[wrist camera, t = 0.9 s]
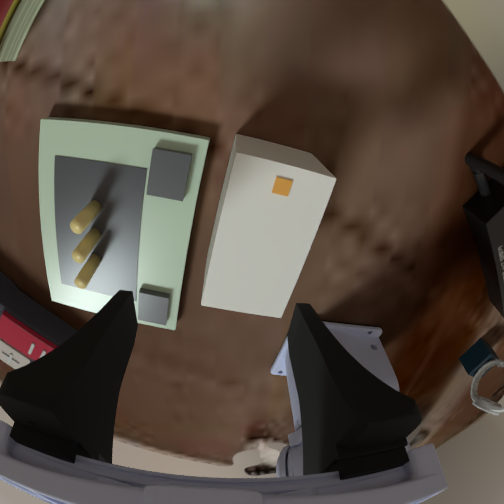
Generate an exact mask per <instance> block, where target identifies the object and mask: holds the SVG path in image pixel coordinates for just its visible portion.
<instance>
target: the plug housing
mask: <svg viewBox="0 0 504 504" xmlns="http://www.w3.org/2000/svg"><path fill="white" fill-rule="evenodd" d="M335 182H336V178H335V177H334V176H333V175H332V173H331V172H330V171H329V170H328V169H327V168H326V167H325V166H324V165H323V164H322V163H321V162H320V161H319V160H318V159H317V158H316V157H315V156H313V155H312V154H311V153H309V152H305V151H302V150H298V149H295V148H291V147H288V146H284V145H280V144H277V143H273V142H269V141H265V140H261V139H257V138H253V137H248V136H244V135H240V134H236V136H235V139H234V143H233V147H232V151H231V155H230V159H229V163H228V167H227V171H226V176H225V180H224V184H223V188H222V192H221V197H220V201H219V205H218V209H217V214H216V218H215V223H214V227H213V232H212V236H211V241H210V245H209V250H208V255H207V261H206V269H205V277H204V285H203V293H202V301H201V305H203V306H208V307H214V308H220V309H226V310H232V311H238V312H244V313H251V314H257V315H264V316H270V317H277V318H281V317H282V315H283V312H284V310H285V308H286V305H287V303H288V301H289V298H290V296H291V294H292V291H293V289H294V286H295V284H296V282H297V279H298V277H299V274H300V272H301V270H302V267H303V265H304V262H305V260H306V257H307V255H308V252H309V250H310V247H311V245H312V242H313V240H314V237H315V235H316V232H317V230H318V227H319V224H320V222H321V219H322V217H323V214H324V211H325V209H326V206H327V204H328V201H329V198H330V196H331V193H332V190H333V187H334V185H335Z"/></svg>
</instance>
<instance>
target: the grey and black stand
mask: <svg viewBox="0 0 504 504" xmlns="http://www.w3.org/2000/svg"><path fill="white" fill-rule="evenodd" d="M465 162H466V164H468V165H469V166H470V168H471V170H472V173H473V175H474V178H475V181H476V184H477V187H478V190H479V193H476V194H475V195H474V196H473V197H472V198H471V199H470V200H469V201H468V203H465V204H464V205H463V209H464V211H465V214H466V217H467V220H468V222H469V225H470V228H471V231H472V234H473V238H474V241H475V244H476V247H477V251H478V254H479V258H480V261H481V265H482V269H483V273H484V276H485V281H486V285H487V289H488V294H489V298H490V301H491V302H492V304H493V305H494V306H495V307H496V309H497V310H498V311H499V312H500V314H501V315H502V316H503V318H504V167H503V168H501V167H499V166H497V165H496V164H494V163H492V162H490V161H488V160H486V159H484V158H482V157H480V156H478V155H475V154H473V153H471V152H469V153H467V154H466V156H465ZM485 174H486V175H487V176H489V177H491V178H492V179H491V180H490V181H489V182H488V181H487V178H486V175H485Z"/></svg>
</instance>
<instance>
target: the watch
mask: <svg viewBox="0 0 504 504" xmlns="http://www.w3.org/2000/svg"><path fill="white" fill-rule="evenodd" d="M459 359H460V361H461V363H462V365H463V366H464V368H465V370H466V372H467V373H468V375H470V376H473V377H474V378H473V381H472V385H471V398H472V400H473V401H474V402H473V403H472V404H473V405H474V406H476V407H477V408H479V409H481V410H483V411H485V412H488V413H490V414H493V415H499V412H504V407H503V408H502V407H501V405H500V404H498V403H496V402H494V401H492V400H489V399H487V398H485V397H482V396H477V388H478V387H477V386H478V383H479V380H480V379H481V378H482V377H483V376H484V375H485V374H486V373H487V372H488V371H489V370H490V369H491V368H492V367H494V366H495V365H497V366H498V367H504V361H503V360H499V358H498V357H497V355H496V353H495V352H494V350H493V349H492V347H491V346H490V345H489V344H487V343H486V342H485V341H484V340H482V339H481V338H480V339H479V340H478V341H477V342H476V343H475V344H474V345H473V346H472V347H471V348H470V349H469V350H468V351H467V352H466V353H464V354H463V355H462V356H461V357H460V358H459Z"/></svg>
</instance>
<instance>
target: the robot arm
mask: <svg viewBox="0 0 504 504" xmlns="http://www.w3.org/2000/svg"><path fill="white" fill-rule="evenodd" d="M137 327H138V322H137V316H136V310H135V304H134V297H133V291H126V290H119V291H118V292H117V293H116V294H115V295H114V296H113V297H112V298H111V299H110V300H109V301H108V302H107V303H106V304H105V305H104V306H103V308H102V309H101V310H100V311H99V312H98V313H97V314H96V315H95V316H94V317H93V318H92V319H91V320H90V321H88V322H87V323H86V324H85V325H84V326H83V327H82V328H81V329H80V330H79V331H77V332H76V333H75V334H74V335H73V336H72V337H70V338H69V339H68V340H66V341H65V342H64V343H62V344H61V345H60V346H58V347H57V348H55V349H53V350H52V351H50V352H49V353H47V354H46V355H44V356H42V357H41V358H39V359H37V360H35V361H33V362H31V363H29V364H27V365H25V366H23V367H20V368H18V369H16V370H13V371H11V372H8V373H7V375H6V377H5V379H4V381H3V383H2V385H1V387H0V406H1V407H2V408H3V409H4V411H5V412H6V413H7V414H8V415H9V416H10V417H11V418H12V419H13V421H14V425H13V427H11V426H10V425H8V424H7V423H5V422H3V421H0V479H1V480H2V481H4V482H6V483H8V484H10V485H12V486H13V487H16V488H17V489H20V490H22V491H24V492H26V493H28V494H30V495H32V496H35V497H37V498H39V499H41V500H43V501H46V502H48V503H50V504H419V503H421V502H423V501H424V500H427V499H429V498H431V497H432V496H434V495H436V494H438V493H440V492H442V491H443V490H445V489H447V488H448V485H447V482H446V479H445V476H444V473H443V470H442V467H441V464H440V461H439V458H438V455H437V453H436V450H435V447H434V444H432V443H431V444H428V445H424V446H421V447H418V448H415V449H412V450H411V448H410V445H409V442H408V439H407V436H408V435H409V434H410V433H411V432H412V431H414V429H416V427H417V426H418V425H419V424H420V422H421V420H422V416H421V414H420V411H419V409H418V406H417V404H416V402H415V400H414V399H412V398H410V397H408V396H406V395H404V394H402V393H400V392H399V385H398V381H397V378H396V376H395V373H394V371H393V369H392V366H391V364H390V362H389V359H388V357H387V355H386V353H385V350H384V348H383V346H382V344H381V341H380V339H379V337H380V335H381V334H382V329H381V328H379V327H369V326H359V325H350V324H341V323H332V322H324V321H322V320H321V319H320V317H319V316H318V314H317V313H316V312H315V310H314V309H313V308H312V306H311V305H310V304H305V303H296V306H295V309H294V313H293V317H292V320H291V324H290V327H289V331H288V334H287V338H286V340H285V342H284V344H283V346H282V348H281V350H280V352H279V354H278V356H277V358H276V360H275V362H274V364H273V366H272V368H271V373H272V374H274V375H286V376H287V381H288V388H289V394H290V400H291V407H292V413H293V420H294V426H295V432H293V433H290V434H289V435H288V437H289V445H287V446H286V447H284V448H283V449H282V451H281V453H280V455H279V458H278V461H277V466H276V473H277V478H210V477H195V476H184V475H174V474H165V473H159V472H152V471H145V470H140V469H134V468H129V467H124V466H119V465H114V464H112V447H113V434H114V424H115V416H116V409H117V402H118V397H119V391H120V387H121V383H122V380H123V377H124V374H125V370H126V367H127V364H128V361H129V358H130V355H131V352H132V349H133V346H134V342H135V337H136V332H137Z"/></svg>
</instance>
